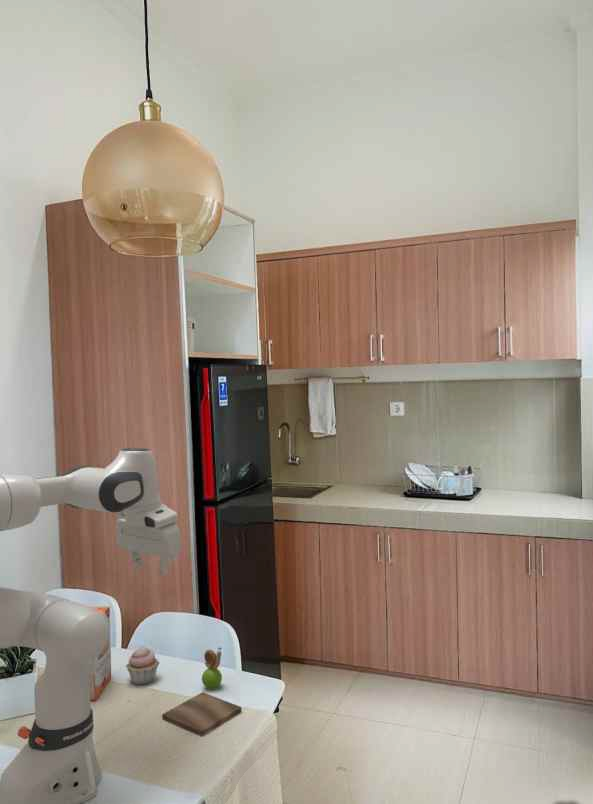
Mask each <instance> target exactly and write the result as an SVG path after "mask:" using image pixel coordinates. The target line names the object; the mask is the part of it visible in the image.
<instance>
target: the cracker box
mask: <svg viewBox="0 0 593 804" xmlns="http://www.w3.org/2000/svg"><path fill="white" fill-rule="evenodd" d="M90 607H91V608H92V609H94V610H95V611H97V612H98V613H99V614H100V615H102V616H103V617H104V618H105V619H106V620H107V622H108V625H109V639H108V642H107V645H106V647H105V648H104V650H103V651H102V653H101V654H100V655H99V656H98V657H96V658H95V660H94V662H93V665H92V669H91V675H90V701H97V700H98V698H99V696H100V695H101V693H102V692H103V691H104V689H105V687H106V686H107V685H108V683H109V682H110V681H111V679H112V650H111V648H112V647H111V615H110V614H111V611H110V606H107V605H105V606H90Z"/></svg>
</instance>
